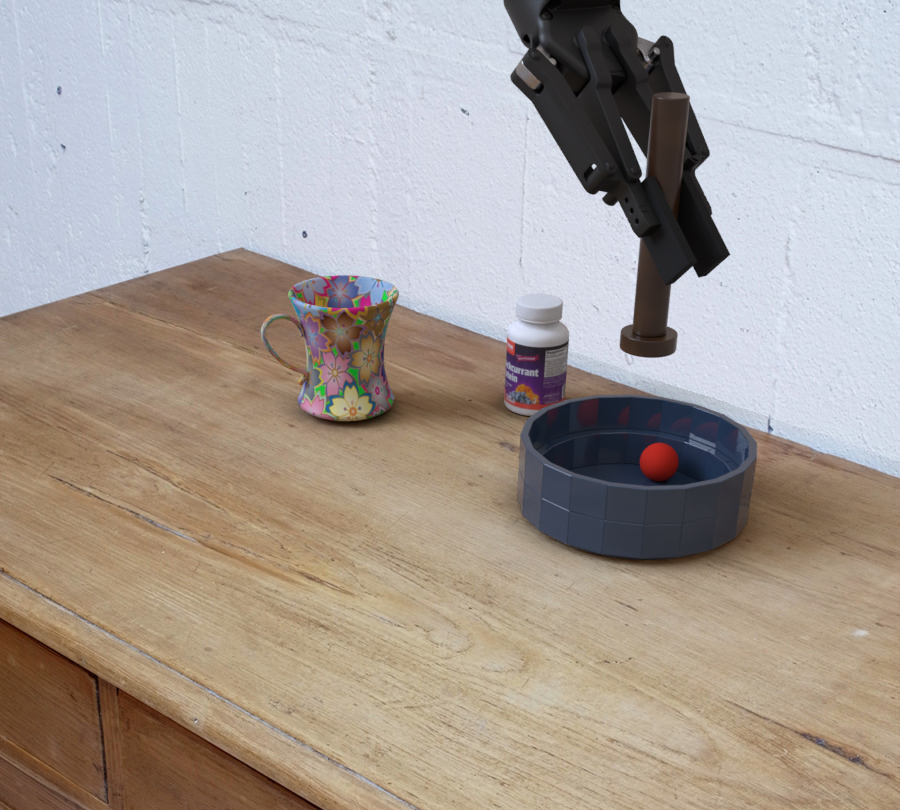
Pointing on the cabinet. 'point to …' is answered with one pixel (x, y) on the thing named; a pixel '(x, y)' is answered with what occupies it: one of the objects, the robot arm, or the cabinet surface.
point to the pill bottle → (536, 355)
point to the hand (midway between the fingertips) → (697, 269)
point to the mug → (341, 345)
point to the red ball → (659, 462)
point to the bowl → (635, 476)
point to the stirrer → (651, 292)
